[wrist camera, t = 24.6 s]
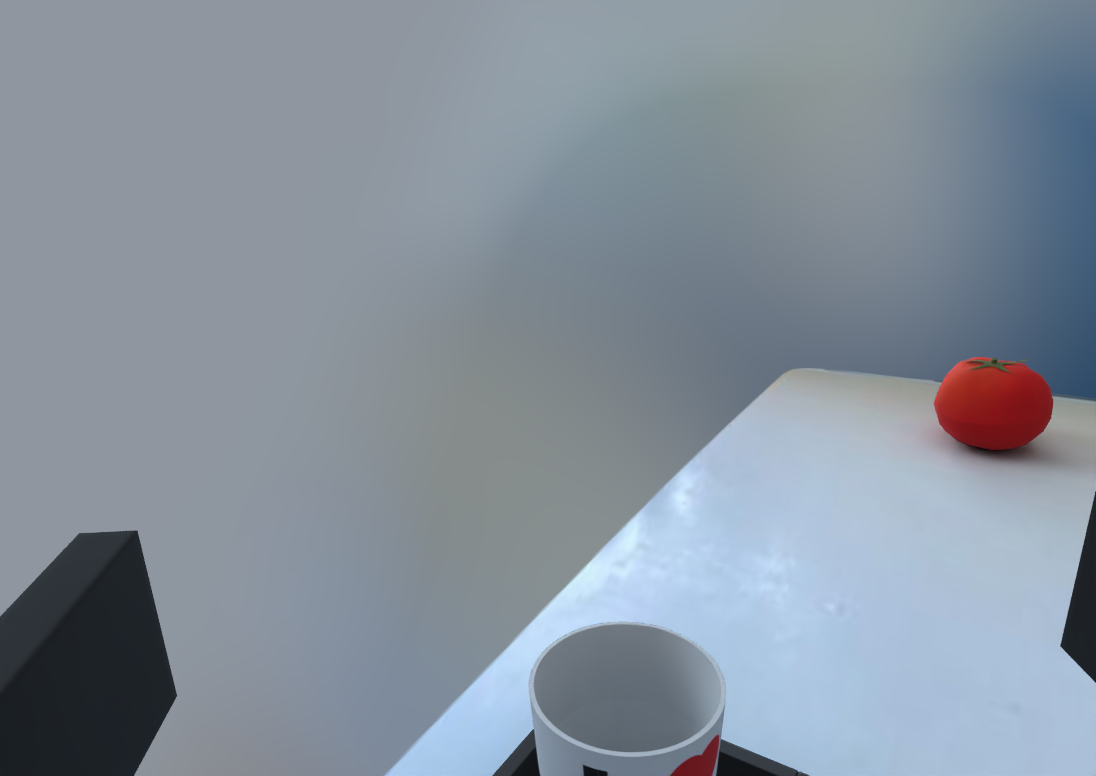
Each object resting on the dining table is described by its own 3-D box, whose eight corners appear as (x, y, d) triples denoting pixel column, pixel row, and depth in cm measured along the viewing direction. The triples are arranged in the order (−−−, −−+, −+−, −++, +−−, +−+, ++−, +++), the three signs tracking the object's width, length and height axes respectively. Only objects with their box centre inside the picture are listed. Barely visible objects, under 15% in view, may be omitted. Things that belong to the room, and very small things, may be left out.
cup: (556, 963, 33) (548, 773, 30) (525, 802, 41) (515, 634, 37) (745, 923, 35) (759, 736, 31) (682, 774, 42) (686, 610, 38)
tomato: (1064, 448, 77) (1082, 363, 74) (992, 473, 73) (1007, 385, 70) (976, 415, 85) (989, 338, 82) (906, 436, 81) (916, 355, 78)
